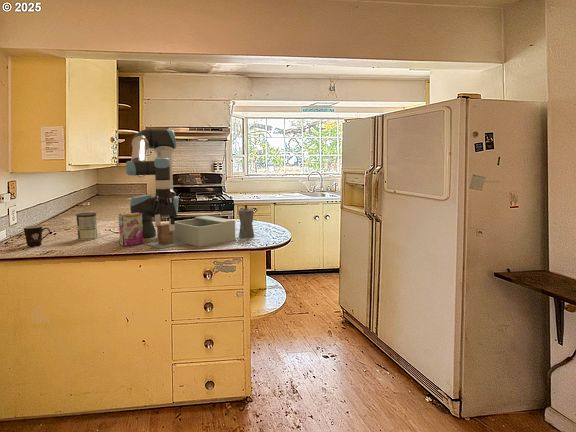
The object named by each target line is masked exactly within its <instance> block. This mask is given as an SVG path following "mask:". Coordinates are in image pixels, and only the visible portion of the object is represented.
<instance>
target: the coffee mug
mask: <svg viewBox="0 0 576 432" xmlns="http://www.w3.org/2000/svg"><path fill="white" fill-rule="evenodd" d="M22 229H23V232H24V236H25V241H26V245H27V247H28V246H38V247H40V246H39V245H41V246H42V241H43V240H44V239H45V238H47V237H49V235H50V233H51V229H50V228H49V227H43V225H27V226H24V227H23V228H22ZM44 230H48V233H47V234H46V235H44V236H42V235H43V231H44Z"/></svg>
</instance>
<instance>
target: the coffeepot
mask: <svg viewBox="0 0 576 432" xmlns="http://www.w3.org/2000/svg"><path fill="white" fill-rule="evenodd" d="M237 214H238V217H239V223H240V225H239V234H238V237H239V238H241V239H251V238H254V237H255V232H254V227H253V221H254V214H255V210H254V209H252V208H248V205H247V204H244V207H240V209H238V211H237Z"/></svg>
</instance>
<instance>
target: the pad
mask: <svg viewBox="0 0 576 432" xmlns="http://www.w3.org/2000/svg"><path fill="white" fill-rule="evenodd" d="M185 244H186V243H182V242H178V241H174V240H173V243H172V244H166V245H161V244H158V241H154V242H148V243H146V246H150V247H153V248H157V249H160V250H162V249H166V248H173V247H177V246H183V245H185Z"/></svg>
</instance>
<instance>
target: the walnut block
mask: <svg viewBox="0 0 576 432" xmlns="http://www.w3.org/2000/svg"><path fill="white" fill-rule="evenodd" d="M156 237H157V242H158V244H161V245H166V244H172V243H173V241H174V240H173V231H169V222H168V223H160V224H159V225H157V227H156Z"/></svg>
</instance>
